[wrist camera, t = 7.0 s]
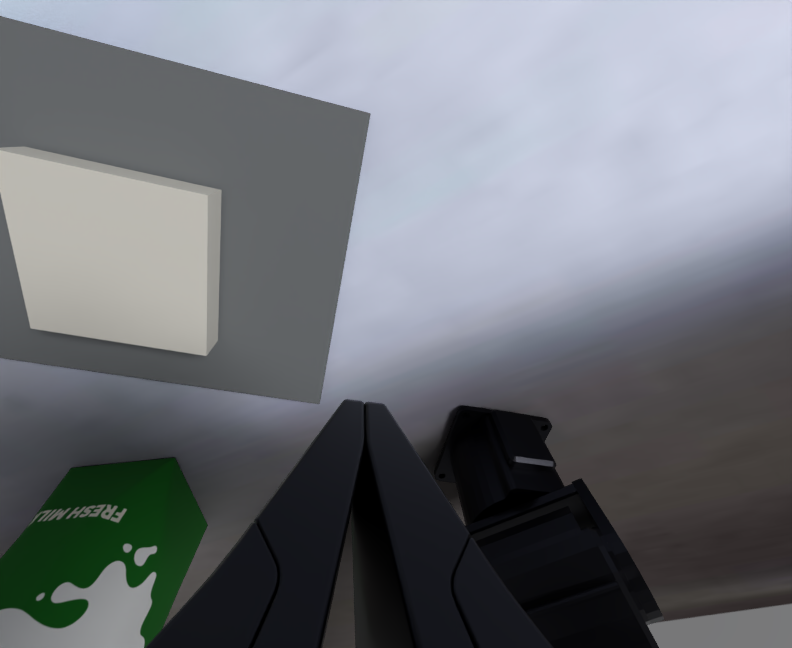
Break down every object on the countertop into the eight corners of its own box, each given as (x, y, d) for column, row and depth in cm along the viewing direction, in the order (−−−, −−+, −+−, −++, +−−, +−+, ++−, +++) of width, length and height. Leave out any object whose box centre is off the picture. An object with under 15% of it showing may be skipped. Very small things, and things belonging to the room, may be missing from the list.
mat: (320, 397, 24) (319, 404, 23) (-45, 344, 21) (-56, 349, 20) (370, 114, 17) (370, 113, 16) (-168, -28, 14) (-189, -34, 13)
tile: (206, 356, 19) (30, 328, 18) (219, 338, 21) (58, 312, 20) (207, 195, 16) (-10, 147, 15) (223, 189, 17) (28, 146, 16)
